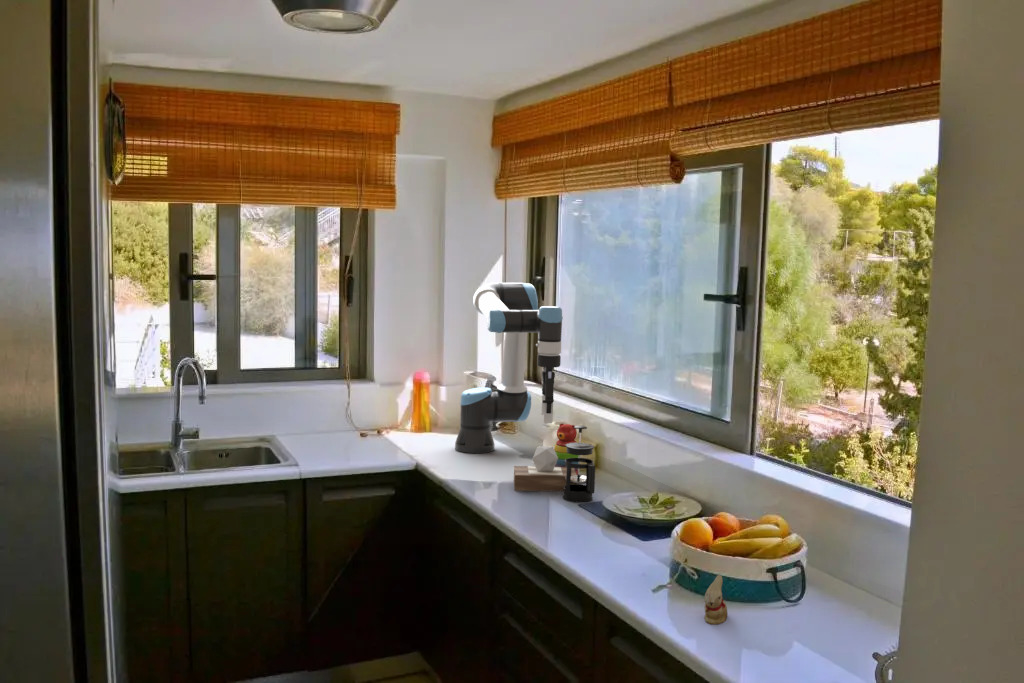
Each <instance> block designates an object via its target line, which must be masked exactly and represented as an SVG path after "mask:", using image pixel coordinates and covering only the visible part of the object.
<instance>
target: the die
mask: <svg viewBox="0 0 1024 683" xmlns="http://www.w3.org/2000/svg"><path fill="white" fill-rule="evenodd" d="M554 448H555V447H554V446H547V445H545V446H542V445H541V446H540V445H538V446H537V447H536V450H535V451H534V454H533V457H532V459H531V460H532V462H533V466H535V467H536V470H537V471H547V472H553V470H554V467H555V465H556V462H557V460H558V457H557V455H556V452H555V450H554Z"/></svg>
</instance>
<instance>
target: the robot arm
mask: <svg viewBox="0 0 1024 683" xmlns="http://www.w3.org/2000/svg"><path fill="white" fill-rule="evenodd" d="M537 294H538V293H537V291H536V288H535V286H534V285H533V284H531V283H529V282H528V283H526V282H497V281H495V282H490V283H486V284H483V285H482V286H480V287H479V288H478V289H477V290H476V291H475V292H474V295H473V298H472V299H473V300H472V302H473V306H474V308H475V310H476V311H477V312H478V313H479V314H481V315H483V316H485V317H486V327H487V330H488V332H490V333H498V334H499V333H504V334H503V335H504V336H503V349H502V365H501V366H502V368H501V379H500V380H501V382H500V383H499V384H498V385H497V386H496V391H493V390H492V388H491V387H481V386H480V387H474V388H469V389H466V390H464V391H462V393H461V395H460V396H461V397H460V403H459V404H460V417H459V418H460V419H459V420H460V421H459V422H460V423H459V431H458V435H457V437H456V440H455V444H454V448H455V450H456V451H458V452H461V453H467V454H468V453H469V454H484V453H491V452H494V451H495V444H496V443H495V441H494V437H493V433H492V431H491V423H508V422H509V423H512V422H513V423H517V422H524V421H526V420H527V419H528V417H529V415H530V413H531V409H532V394H531V393H530V391H528V387H527V386H526V384H525V371H526V370H525V368H526V353H527V337H528V333H529V334H531V333H533V334H535V333H536V334H537V343H536V344H535V346H536V347H537V353H538V354H537V357H536V358H537V361H536V365H537V367H540V368H543V371H541V377H542V378H541V381H542V387H541V388H542V389H541V394H542V395H541V416H543V424H553V415H554V402H555V400H554V385H555V378H556V377H555V376H556V372H555V371H553V368H559V367H561V355H560V354H561V353H562V330H563V328H562V327H563V326H562V325H563V317H564V316H563V309H562V307H561V306H554V305H553V306H552V305H546V306H545V305H544V306H543V305H542V306H540V307H539V301H538V295H537Z"/></svg>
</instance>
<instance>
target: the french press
mask: <svg viewBox="0 0 1024 683" xmlns="http://www.w3.org/2000/svg"><path fill="white" fill-rule="evenodd" d="M574 428H576V430H578V433H579V442H577V443H568V444H566V445H565V446H566V447H567V453H569V454H573V455H579V458H568V459H565V466H567V476H566V477H565V479H566V486H564V491H563V495H562V499H563V500H565V501H567V502H571V503H588V502H591V501H593V499H594V497H593V495H594V494H595V486H596V485H595V483H596V482H595V481H596V465H595V464H594V462H595V461H594V460H593V459H590V458H584V457H581V456H589V455H592V454H593V453H594V452H593V450H594V448H595V446H594V445H593V444H591V443H586V442H581V440H582V438H581V436H582V433H583V430H587V429H588V427H587V426H585V425H575V426H574ZM572 462H579V464H572ZM581 463H582V464H581ZM583 463H584V464H583ZM585 463H586V464H585ZM572 468H578V475H571V469H572ZM580 469H586V473H585V475H580ZM571 483H577V484H571Z"/></svg>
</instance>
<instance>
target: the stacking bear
mask: <svg viewBox="0 0 1024 683" xmlns="http://www.w3.org/2000/svg"><path fill="white" fill-rule="evenodd" d="M574 426H576V425H574V424H568V423H567V424H564V423H559V427H558V428H557V431H556V436H557V439H558V440H557V441H556V443H555V445H554V447H553V448H554V450H555V452H556V455H557V457H558V460H557V462H556V465H555V467H567V466H565V459H568V458H579V455H573V454H569V453H567V447H566V446H565V445H566V444H568V443H578V442H577V441H576V438H577V434H578V433H577V429H576V428H574ZM572 464H579V462H572ZM574 469H575V472H576V475H578V468H574Z"/></svg>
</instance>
